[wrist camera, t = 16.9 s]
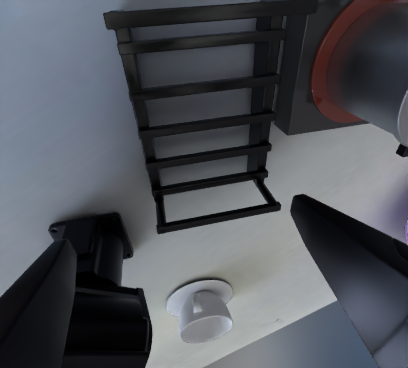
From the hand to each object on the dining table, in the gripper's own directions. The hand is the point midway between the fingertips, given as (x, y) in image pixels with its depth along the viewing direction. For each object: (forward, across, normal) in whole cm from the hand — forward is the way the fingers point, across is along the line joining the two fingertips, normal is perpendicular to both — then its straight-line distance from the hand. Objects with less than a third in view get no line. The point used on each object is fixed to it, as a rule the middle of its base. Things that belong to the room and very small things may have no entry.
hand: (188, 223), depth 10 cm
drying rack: (+12, -3, 0) cm, 12 cm away
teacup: (+12, -1, +28) cm, 31 cm away
